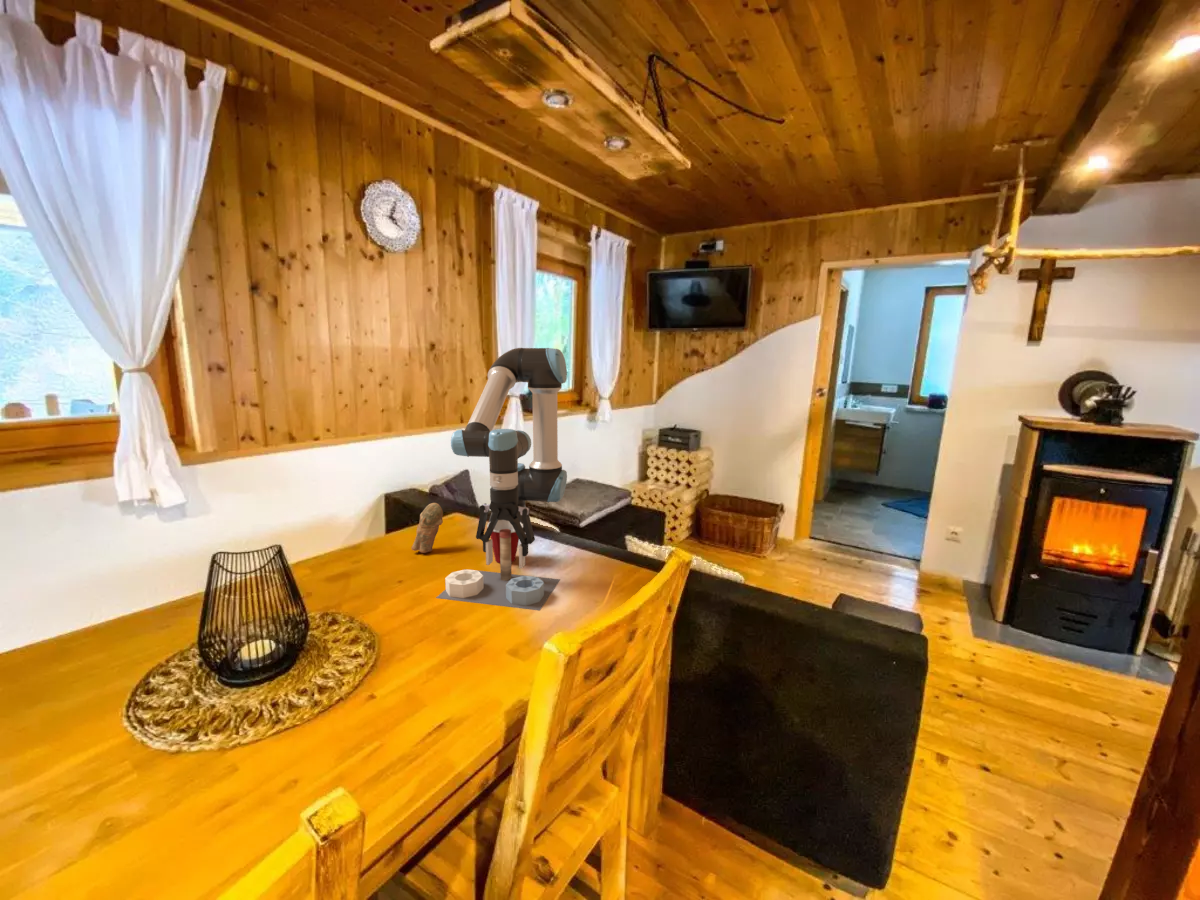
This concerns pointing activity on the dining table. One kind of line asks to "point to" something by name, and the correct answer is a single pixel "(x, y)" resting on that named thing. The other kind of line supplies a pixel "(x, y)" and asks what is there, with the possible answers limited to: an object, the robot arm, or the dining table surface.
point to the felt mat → (502, 592)
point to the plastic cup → (496, 539)
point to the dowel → (505, 554)
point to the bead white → (464, 583)
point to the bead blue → (525, 590)
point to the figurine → (428, 528)
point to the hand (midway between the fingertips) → (505, 564)
